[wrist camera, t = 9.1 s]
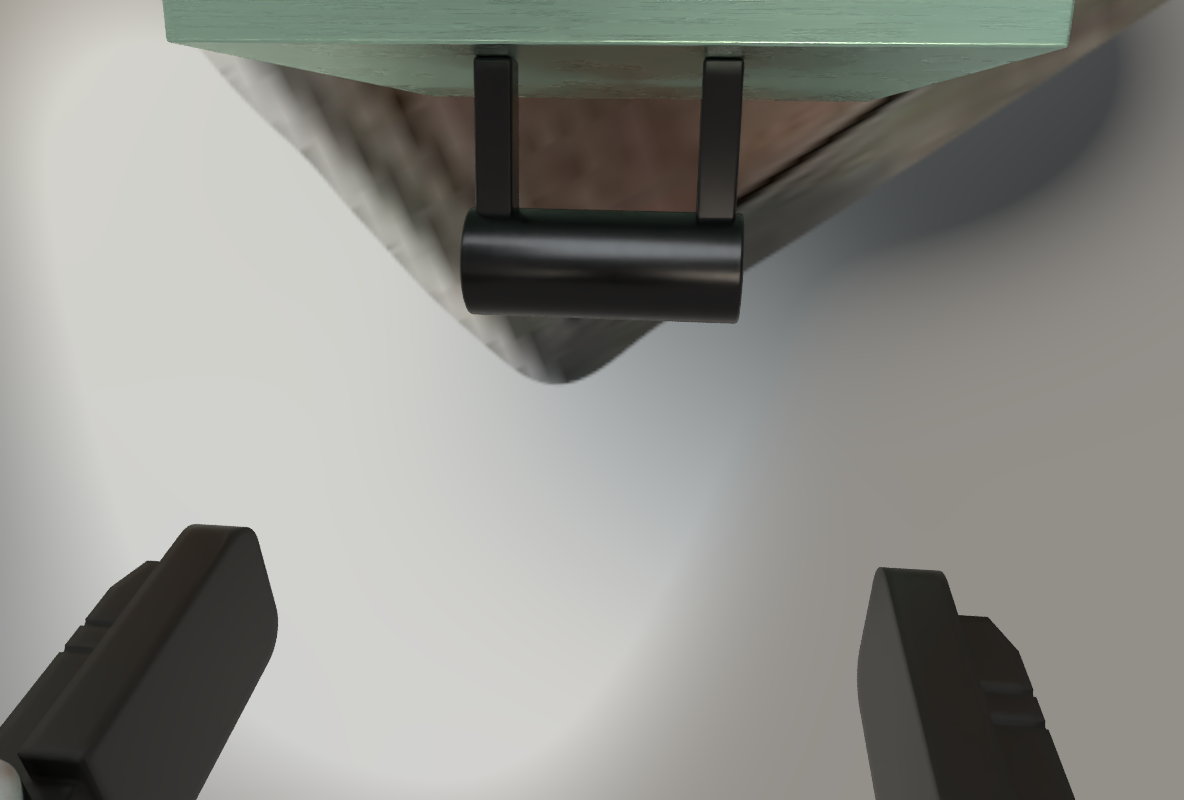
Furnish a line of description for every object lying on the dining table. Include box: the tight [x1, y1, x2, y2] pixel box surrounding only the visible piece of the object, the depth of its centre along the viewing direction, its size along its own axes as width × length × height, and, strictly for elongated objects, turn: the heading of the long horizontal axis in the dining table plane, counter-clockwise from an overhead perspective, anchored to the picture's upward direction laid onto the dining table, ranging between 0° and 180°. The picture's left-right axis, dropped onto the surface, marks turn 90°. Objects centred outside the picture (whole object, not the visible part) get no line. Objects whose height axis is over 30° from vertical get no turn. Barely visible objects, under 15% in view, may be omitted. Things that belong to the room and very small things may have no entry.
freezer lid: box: [163, 0, 1075, 324], centre depth 22 cm, size 16×14×5 cm
